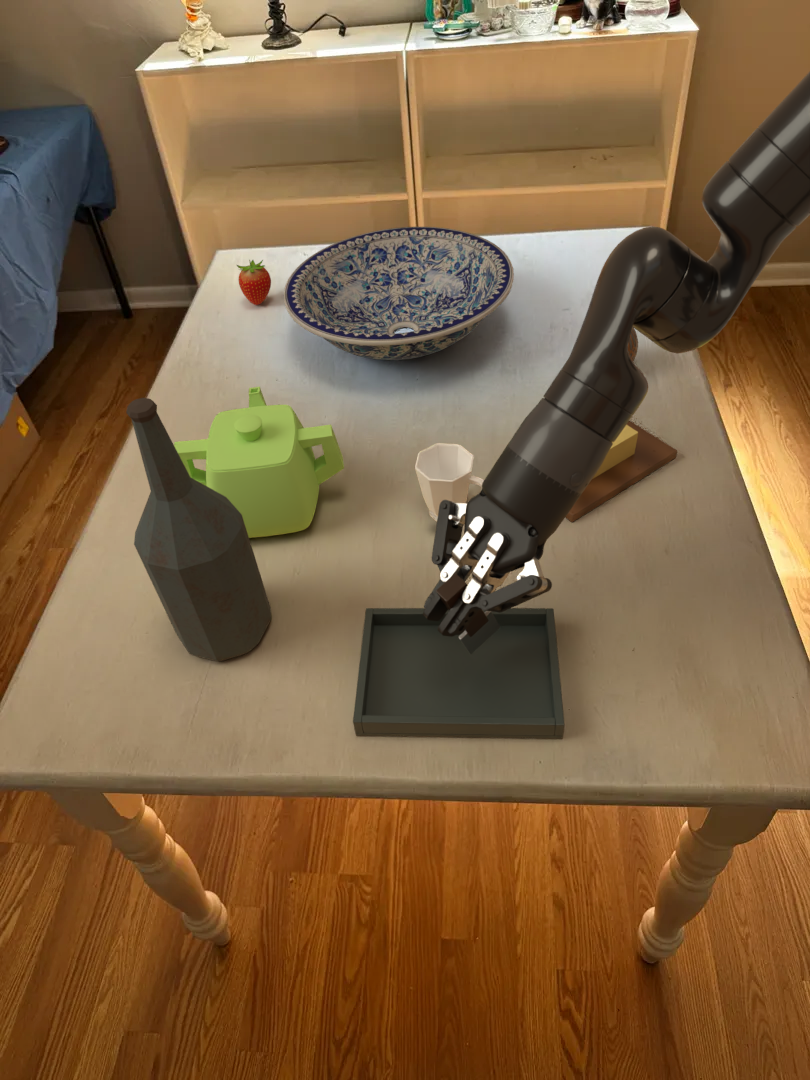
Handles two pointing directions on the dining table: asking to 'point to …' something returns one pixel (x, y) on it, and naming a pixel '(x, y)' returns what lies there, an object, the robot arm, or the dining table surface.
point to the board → (624, 472)
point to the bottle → (196, 551)
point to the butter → (620, 449)
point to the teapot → (265, 464)
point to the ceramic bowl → (399, 290)
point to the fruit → (254, 282)
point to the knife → (480, 624)
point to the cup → (445, 475)
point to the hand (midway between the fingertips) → (438, 625)
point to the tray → (459, 678)
